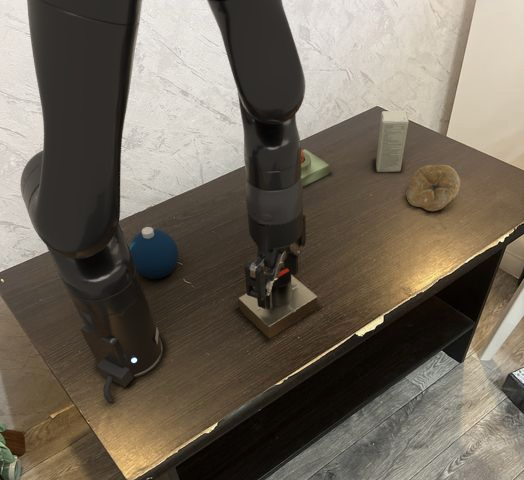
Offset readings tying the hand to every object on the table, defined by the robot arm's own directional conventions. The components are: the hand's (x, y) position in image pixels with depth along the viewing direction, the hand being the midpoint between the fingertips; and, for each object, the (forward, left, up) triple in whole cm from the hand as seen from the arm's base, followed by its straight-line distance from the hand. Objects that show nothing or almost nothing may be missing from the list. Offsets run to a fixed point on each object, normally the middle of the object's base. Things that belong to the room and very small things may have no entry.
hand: (278, 289), depth 80 cm
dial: (0, 0, -1) cm, 2 cm away
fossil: (+39, -12, -5) cm, 41 cm away
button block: (+35, +16, -5) cm, 38 cm away
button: (+35, +16, -1) cm, 38 cm away
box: (+47, 0, -5) cm, 47 cm away
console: (0, 0, -5) cm, 5 cm away
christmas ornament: (-2, +24, -5) cm, 24 cm away
